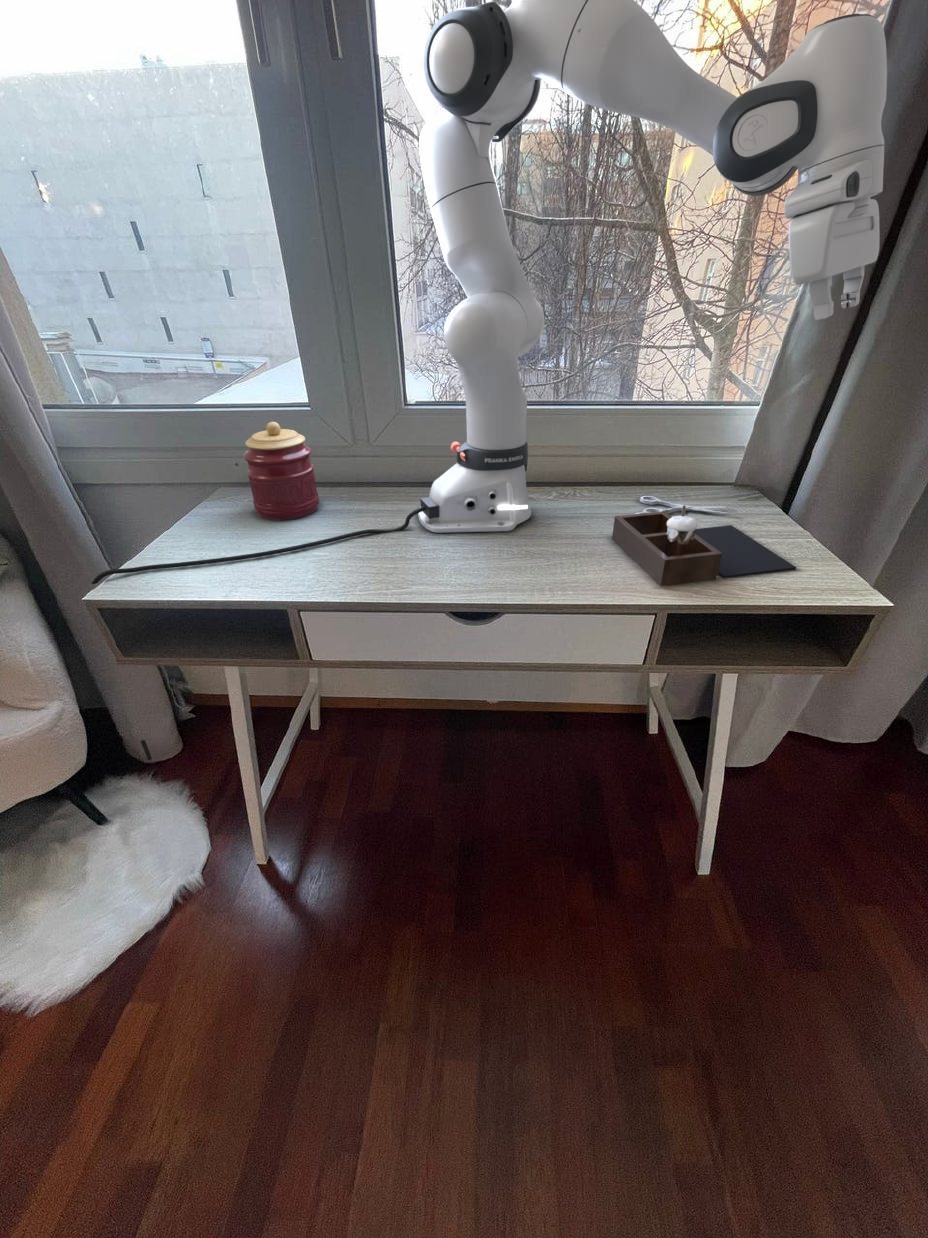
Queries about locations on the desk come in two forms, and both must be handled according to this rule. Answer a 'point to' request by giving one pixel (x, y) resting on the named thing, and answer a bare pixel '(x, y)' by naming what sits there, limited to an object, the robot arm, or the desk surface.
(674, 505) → the scissors
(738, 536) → the mouse pad
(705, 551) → the caddy
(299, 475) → the kitchen canister
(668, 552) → the milkshake
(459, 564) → the desk surface
